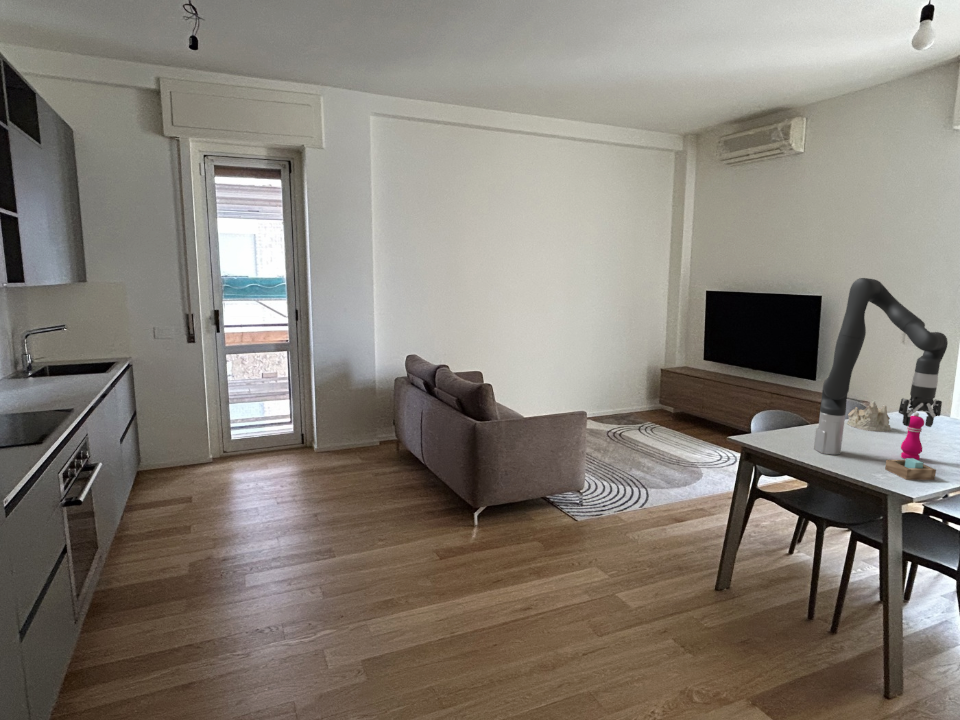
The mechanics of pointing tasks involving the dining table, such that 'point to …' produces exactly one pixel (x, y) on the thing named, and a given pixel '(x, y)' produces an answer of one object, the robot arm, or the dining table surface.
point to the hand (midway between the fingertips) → (917, 425)
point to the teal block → (913, 463)
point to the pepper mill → (913, 438)
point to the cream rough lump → (870, 418)
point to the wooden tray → (910, 471)
